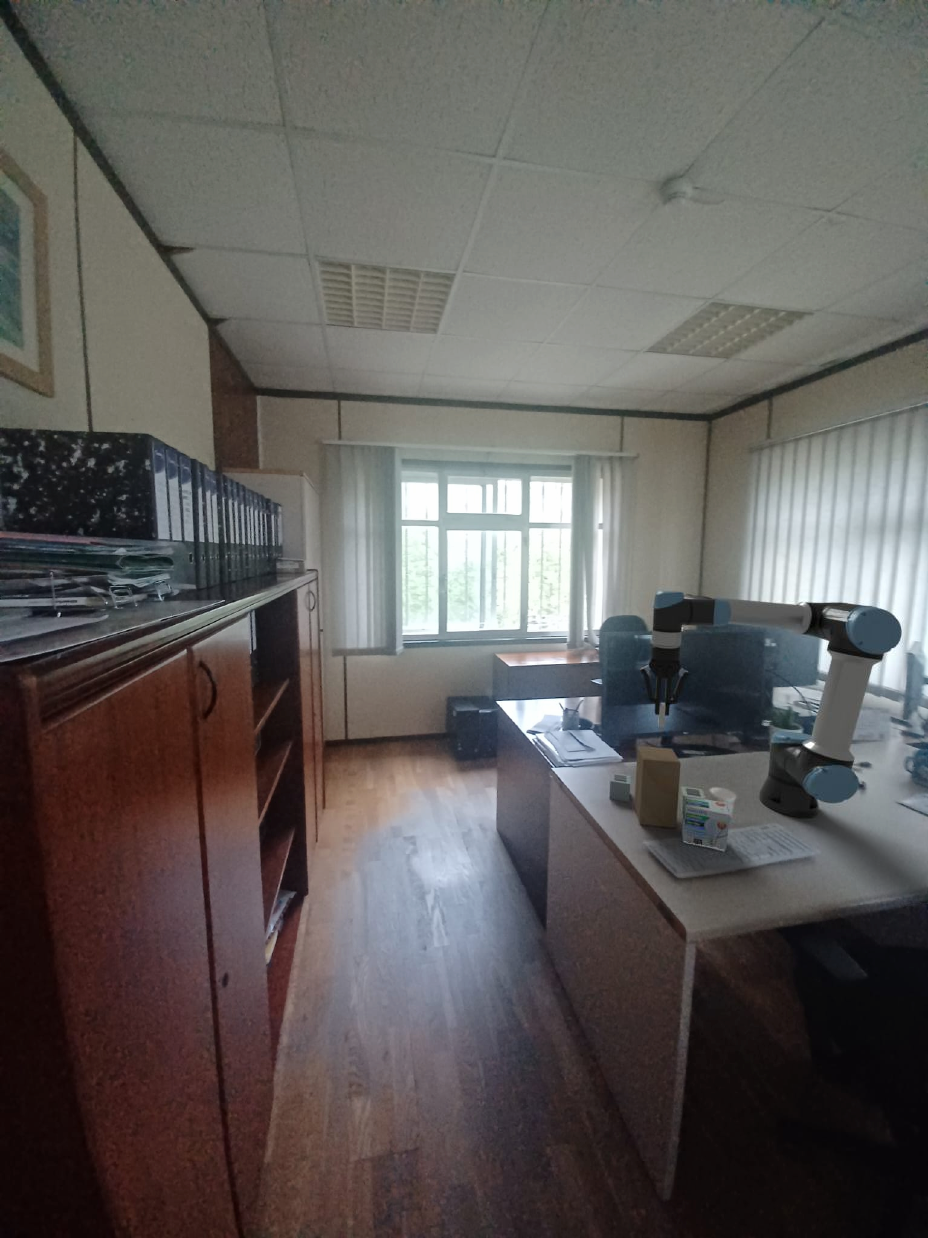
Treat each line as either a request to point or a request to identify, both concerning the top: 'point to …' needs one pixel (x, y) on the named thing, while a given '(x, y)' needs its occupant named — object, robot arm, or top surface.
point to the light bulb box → (705, 822)
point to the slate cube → (619, 787)
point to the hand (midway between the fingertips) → (661, 725)
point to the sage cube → (692, 793)
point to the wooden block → (657, 786)
